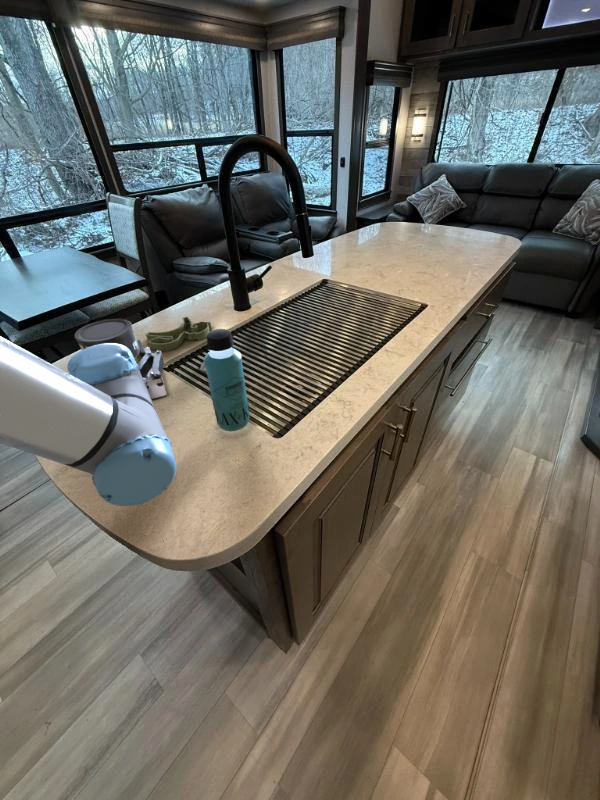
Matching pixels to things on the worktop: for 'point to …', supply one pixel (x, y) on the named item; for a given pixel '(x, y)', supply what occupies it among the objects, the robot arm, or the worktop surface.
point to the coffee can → (110, 336)
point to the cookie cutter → (165, 339)
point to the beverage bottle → (226, 381)
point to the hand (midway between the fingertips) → (114, 351)
